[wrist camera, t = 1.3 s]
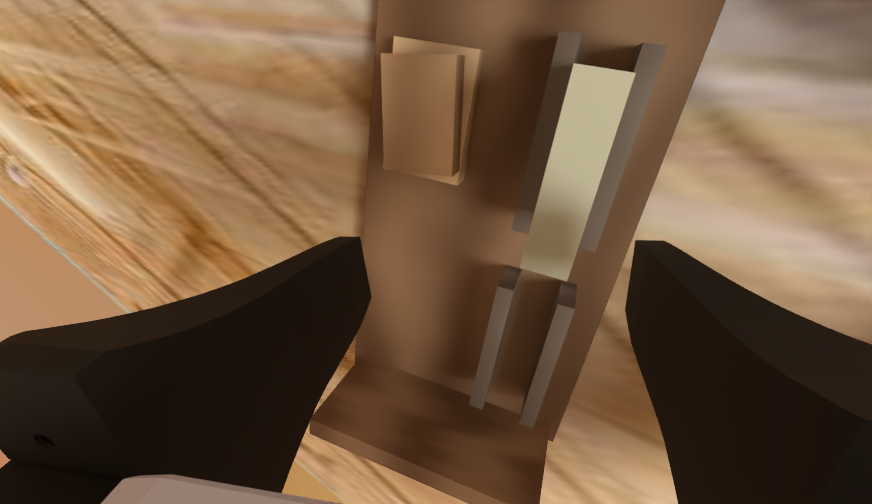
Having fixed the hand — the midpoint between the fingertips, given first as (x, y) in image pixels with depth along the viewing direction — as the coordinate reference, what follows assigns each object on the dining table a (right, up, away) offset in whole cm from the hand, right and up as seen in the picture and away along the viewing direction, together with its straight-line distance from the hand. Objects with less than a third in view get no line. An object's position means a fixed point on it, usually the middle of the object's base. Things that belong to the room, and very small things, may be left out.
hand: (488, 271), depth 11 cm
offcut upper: (-2, +7, +8) cm, 11 cm away
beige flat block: (+5, +6, +7) cm, 11 cm away
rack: (+1, +2, +11) cm, 12 cm away
